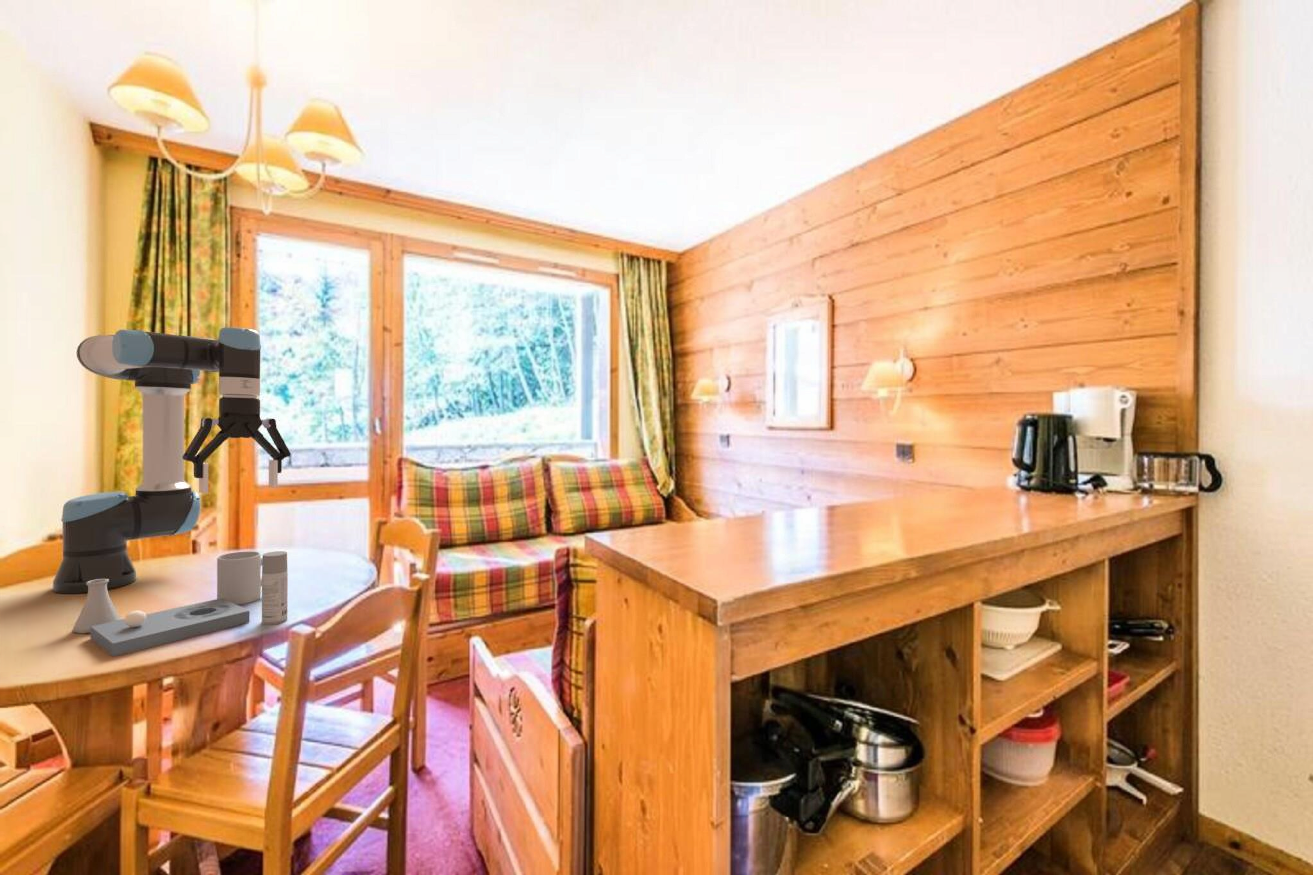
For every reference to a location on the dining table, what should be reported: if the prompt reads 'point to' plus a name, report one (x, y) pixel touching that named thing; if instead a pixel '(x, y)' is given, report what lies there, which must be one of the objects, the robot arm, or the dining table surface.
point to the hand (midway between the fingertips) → (239, 490)
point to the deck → (168, 626)
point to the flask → (96, 607)
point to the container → (274, 587)
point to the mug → (239, 577)
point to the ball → (135, 619)
